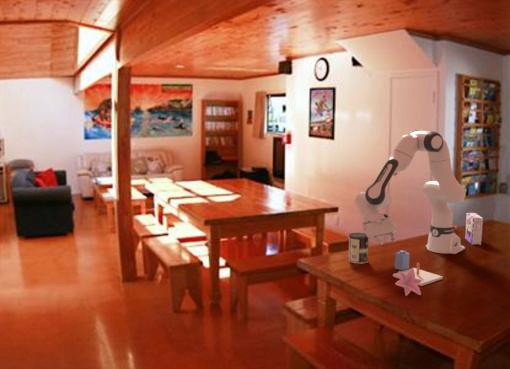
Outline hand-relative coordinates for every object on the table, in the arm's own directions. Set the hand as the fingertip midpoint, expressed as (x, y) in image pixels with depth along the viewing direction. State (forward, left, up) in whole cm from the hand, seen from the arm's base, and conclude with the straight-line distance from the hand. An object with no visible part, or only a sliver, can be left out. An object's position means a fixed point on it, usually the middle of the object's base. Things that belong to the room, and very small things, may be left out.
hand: (388, 242), depth 251 cm
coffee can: (+8, -13, -12) cm, 19 cm away
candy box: (-75, +2, -12) cm, 76 cm away
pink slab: (+5, +22, -12) cm, 25 cm away
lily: (+24, +31, -12) cm, 41 cm away
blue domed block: (0, +9, -12) cm, 15 cm away
